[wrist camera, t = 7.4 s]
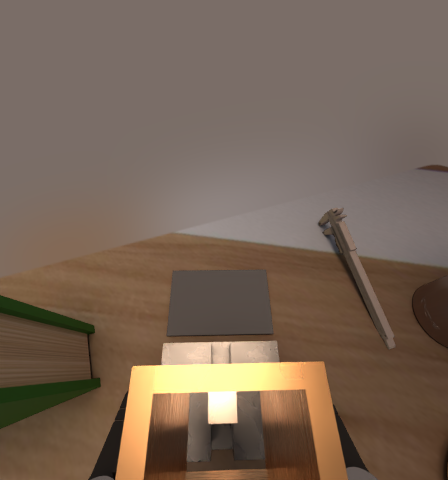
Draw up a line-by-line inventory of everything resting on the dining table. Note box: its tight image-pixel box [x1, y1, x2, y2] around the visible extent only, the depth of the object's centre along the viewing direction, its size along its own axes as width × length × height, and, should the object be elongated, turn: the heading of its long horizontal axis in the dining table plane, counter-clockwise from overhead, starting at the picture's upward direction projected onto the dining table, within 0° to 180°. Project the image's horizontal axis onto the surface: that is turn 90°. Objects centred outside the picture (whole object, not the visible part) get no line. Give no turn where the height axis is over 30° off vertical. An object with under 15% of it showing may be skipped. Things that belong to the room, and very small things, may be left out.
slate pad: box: [167, 270, 273, 336], centre depth 32 cm, size 14×9×1 cm, turn 91°
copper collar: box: [115, 362, 348, 480], centre depth 8 cm, size 5×5×8 cm
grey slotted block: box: [161, 341, 280, 462], centre depth 22 cm, size 17×10×13 cm, turn 91°
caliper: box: [319, 208, 395, 349], centre depth 32 cm, size 20×1×6 cm, turn 15°
